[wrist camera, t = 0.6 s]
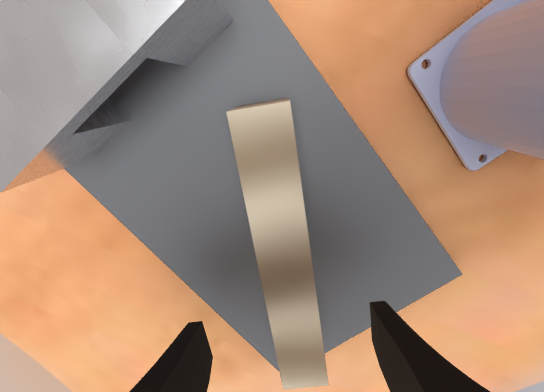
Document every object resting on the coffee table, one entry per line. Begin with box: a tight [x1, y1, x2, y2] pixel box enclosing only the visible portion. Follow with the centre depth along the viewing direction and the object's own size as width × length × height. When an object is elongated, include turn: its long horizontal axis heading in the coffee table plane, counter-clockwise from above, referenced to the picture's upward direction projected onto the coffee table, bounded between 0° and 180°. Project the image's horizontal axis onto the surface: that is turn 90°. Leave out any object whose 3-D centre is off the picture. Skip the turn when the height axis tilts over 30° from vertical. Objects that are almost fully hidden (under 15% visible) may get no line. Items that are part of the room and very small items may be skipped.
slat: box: [226, 98, 329, 389], centre depth 19 cm, size 18×3×4 cm, turn 9°
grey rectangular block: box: [0, 0, 234, 192], centre depth 14 cm, size 12×5×7 cm, turn 129°
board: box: [64, 0, 462, 372], centre depth 20 cm, size 16×28×1 cm, turn 39°
